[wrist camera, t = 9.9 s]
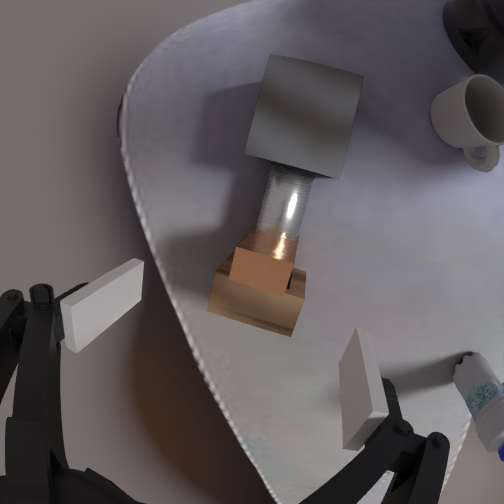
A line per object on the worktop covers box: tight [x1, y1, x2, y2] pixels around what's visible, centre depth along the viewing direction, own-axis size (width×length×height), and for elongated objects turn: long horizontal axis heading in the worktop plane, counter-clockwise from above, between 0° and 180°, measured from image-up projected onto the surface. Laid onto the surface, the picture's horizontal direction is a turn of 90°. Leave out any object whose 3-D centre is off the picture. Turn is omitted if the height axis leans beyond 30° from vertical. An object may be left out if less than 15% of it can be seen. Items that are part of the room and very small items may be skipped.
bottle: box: [453, 353, 504, 461], centre depth 24 cm, size 7×7×20 cm
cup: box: [430, 74, 504, 172], centre depth 22 cm, size 7×10×9 cm
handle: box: [229, 161, 315, 297], centre depth 27 cm, size 18×5×10 cm, turn 166°
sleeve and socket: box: [207, 54, 363, 337], centre depth 29 cm, size 26×9×8 cm, turn 166°
